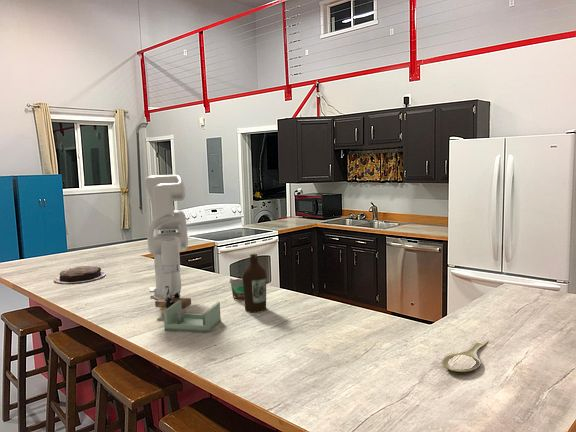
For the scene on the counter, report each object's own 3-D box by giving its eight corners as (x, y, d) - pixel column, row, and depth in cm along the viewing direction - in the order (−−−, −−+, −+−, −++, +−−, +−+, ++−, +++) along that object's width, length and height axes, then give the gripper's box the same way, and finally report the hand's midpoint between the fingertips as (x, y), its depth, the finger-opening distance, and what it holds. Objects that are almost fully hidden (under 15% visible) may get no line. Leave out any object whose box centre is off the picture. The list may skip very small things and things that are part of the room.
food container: (231, 302, 222) (231, 281, 221) (230, 298, 228) (229, 278, 227) (257, 299, 225) (256, 278, 224) (255, 295, 231) (254, 275, 230)
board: (155, 307, 204) (155, 301, 204) (161, 303, 210) (161, 297, 209) (185, 308, 201) (185, 302, 201) (191, 304, 207) (190, 298, 207)
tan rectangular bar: (162, 315, 206) (161, 306, 205) (164, 313, 208) (164, 304, 208) (183, 315, 204) (182, 306, 203) (185, 313, 206) (185, 305, 206)
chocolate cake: (42, 283, 268) (41, 272, 267) (77, 272, 295) (76, 261, 294) (83, 286, 260) (82, 274, 259) (115, 274, 286) (114, 263, 286)
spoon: (470, 341, 172) (470, 335, 172) (501, 348, 166) (501, 342, 166) (434, 370, 145) (434, 363, 145) (469, 380, 138) (470, 373, 138)
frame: (164, 330, 187) (163, 311, 186) (179, 318, 200) (178, 300, 199) (208, 332, 183) (207, 312, 182) (220, 320, 197) (219, 301, 196)
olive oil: (239, 308, 212) (237, 254, 209) (260, 304, 217) (258, 251, 214) (251, 314, 203) (248, 257, 200) (272, 310, 209) (270, 254, 206)
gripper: (171, 263, 213) (174, 302, 215) (153, 272, 196) (156, 314, 198) (187, 263, 211) (189, 302, 213) (170, 273, 194) (173, 315, 196)
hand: (173, 308), depth 206 cm, fingers closed on board, 6 cm apart
